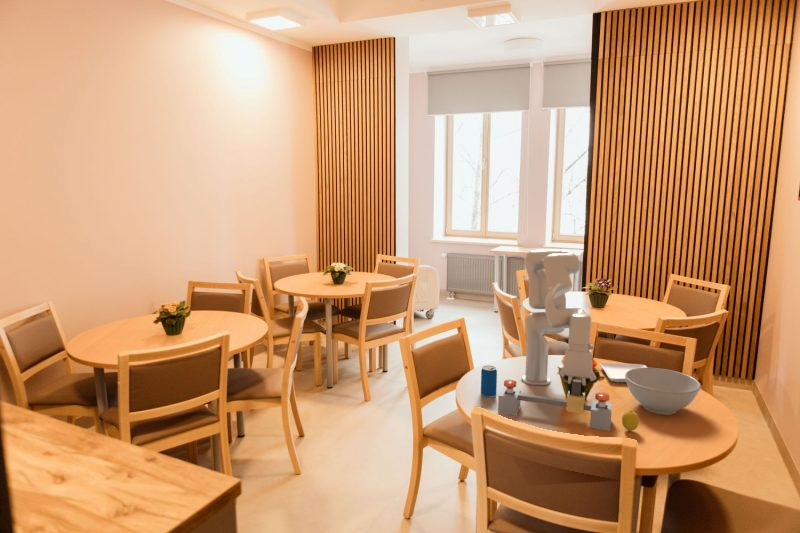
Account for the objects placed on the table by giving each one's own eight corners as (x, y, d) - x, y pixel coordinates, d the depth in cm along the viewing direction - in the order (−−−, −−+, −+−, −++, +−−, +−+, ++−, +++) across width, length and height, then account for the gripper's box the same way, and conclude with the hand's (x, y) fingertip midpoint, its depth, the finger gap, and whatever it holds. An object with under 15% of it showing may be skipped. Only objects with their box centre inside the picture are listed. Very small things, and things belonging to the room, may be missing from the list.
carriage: (568, 404, 209) (569, 377, 207) (584, 407, 207) (586, 379, 205) (566, 411, 203) (567, 383, 202) (583, 413, 201) (584, 385, 199)
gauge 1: (504, 396, 218) (505, 379, 216) (516, 398, 216) (517, 380, 215) (502, 401, 213) (502, 383, 212) (514, 403, 211) (515, 385, 210)
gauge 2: (594, 410, 205) (595, 391, 203) (608, 412, 203) (609, 393, 202) (593, 415, 200) (595, 396, 199) (607, 417, 199) (609, 398, 197)
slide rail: (502, 403, 221) (503, 387, 219) (610, 420, 205) (612, 403, 204) (498, 412, 212) (498, 395, 211) (610, 431, 197) (611, 412, 196)
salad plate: (598, 368, 262) (598, 361, 261) (644, 370, 259) (644, 363, 258) (608, 385, 241) (609, 377, 240) (659, 387, 238) (659, 380, 238)
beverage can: (496, 398, 226) (496, 371, 224) (480, 397, 227) (480, 369, 225) (496, 392, 232) (497, 365, 230) (481, 391, 233) (481, 364, 231)
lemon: (618, 428, 199) (620, 407, 198) (633, 427, 200) (634, 406, 198) (626, 435, 194) (627, 414, 192) (640, 434, 194) (642, 413, 193)
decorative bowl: (690, 399, 225) (692, 371, 223) (704, 427, 200) (707, 396, 198) (620, 391, 233) (622, 364, 231) (626, 417, 208) (628, 387, 206)
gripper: (603, 346, 201) (600, 393, 204) (557, 341, 207) (554, 386, 211) (602, 352, 194) (599, 400, 198) (554, 346, 201) (552, 393, 204)
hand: (576, 393), depth 204 cm, fingers closed on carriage, 3 cm apart
